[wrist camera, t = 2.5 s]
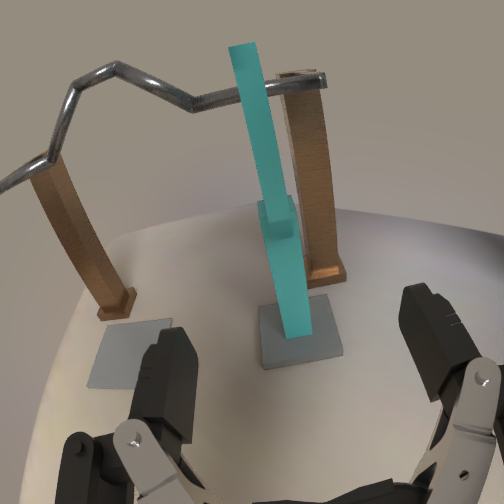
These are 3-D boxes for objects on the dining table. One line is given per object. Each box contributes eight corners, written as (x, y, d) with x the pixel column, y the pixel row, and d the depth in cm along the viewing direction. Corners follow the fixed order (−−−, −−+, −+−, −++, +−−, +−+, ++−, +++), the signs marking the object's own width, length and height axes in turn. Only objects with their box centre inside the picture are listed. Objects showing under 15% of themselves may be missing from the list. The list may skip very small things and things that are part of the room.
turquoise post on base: (260, 308, 32) (193, 65, 18) (325, 296, 31) (290, 45, 17) (264, 376, 25) (164, 64, 11) (344, 361, 24) (318, 33, 10)
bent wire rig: (336, 257, 35) (305, 28, 21) (362, 323, 27) (342, 9, 12) (110, 298, 38) (27, 124, 24) (86, 359, 30) (-37, 157, 15)
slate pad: (172, 319, 33) (171, 318, 33) (159, 388, 25) (158, 386, 25) (108, 327, 34) (107, 325, 33) (88, 387, 26) (86, 386, 26)
